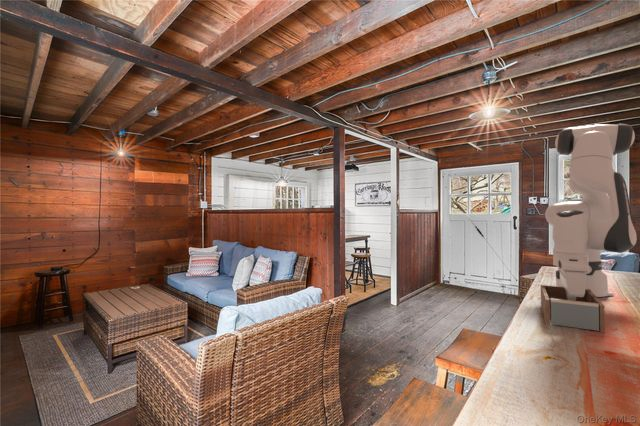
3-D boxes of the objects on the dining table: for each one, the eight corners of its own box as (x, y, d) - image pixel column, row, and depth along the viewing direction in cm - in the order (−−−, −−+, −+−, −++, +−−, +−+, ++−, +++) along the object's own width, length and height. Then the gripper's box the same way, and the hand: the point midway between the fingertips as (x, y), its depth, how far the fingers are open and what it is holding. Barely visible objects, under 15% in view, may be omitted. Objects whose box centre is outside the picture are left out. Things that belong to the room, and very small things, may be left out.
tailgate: (550, 322, 97) (550, 298, 97) (598, 329, 91) (597, 303, 91) (551, 324, 96) (550, 299, 96) (599, 330, 90) (598, 304, 90)
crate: (541, 306, 114) (540, 285, 114) (590, 311, 107) (589, 289, 107) (546, 324, 97) (545, 299, 97) (605, 332, 90) (604, 305, 90)
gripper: (554, 255, 108) (555, 294, 108) (562, 265, 91) (563, 311, 91) (577, 256, 105) (578, 296, 105) (590, 267, 87) (591, 314, 88)
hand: (571, 303), depth 98 cm, fingers closed
